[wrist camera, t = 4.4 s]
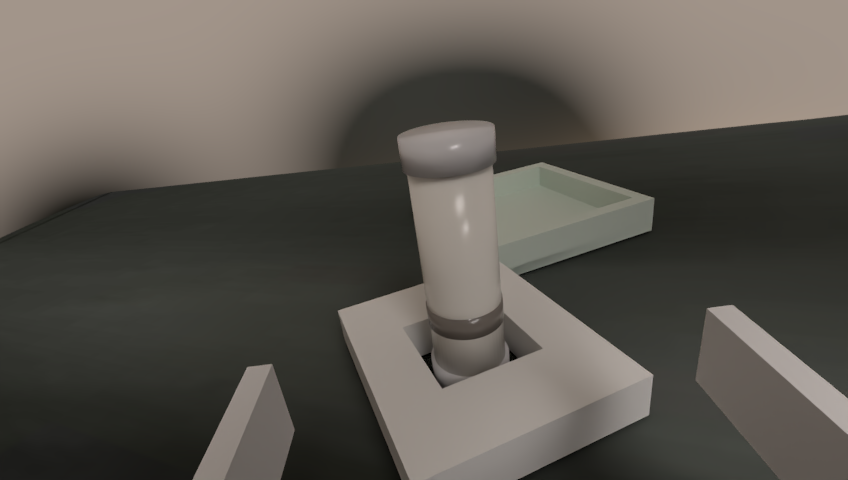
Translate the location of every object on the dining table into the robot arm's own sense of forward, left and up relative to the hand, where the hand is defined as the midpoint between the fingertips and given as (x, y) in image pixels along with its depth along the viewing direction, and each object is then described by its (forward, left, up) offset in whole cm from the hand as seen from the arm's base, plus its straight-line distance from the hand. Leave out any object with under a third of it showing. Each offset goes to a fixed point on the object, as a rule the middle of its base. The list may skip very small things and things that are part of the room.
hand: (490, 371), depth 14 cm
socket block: (+9, -3, -8) cm, 13 cm away
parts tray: (+25, -17, -8) cm, 32 cm away
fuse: (+9, -3, -8) cm, 13 cm away
